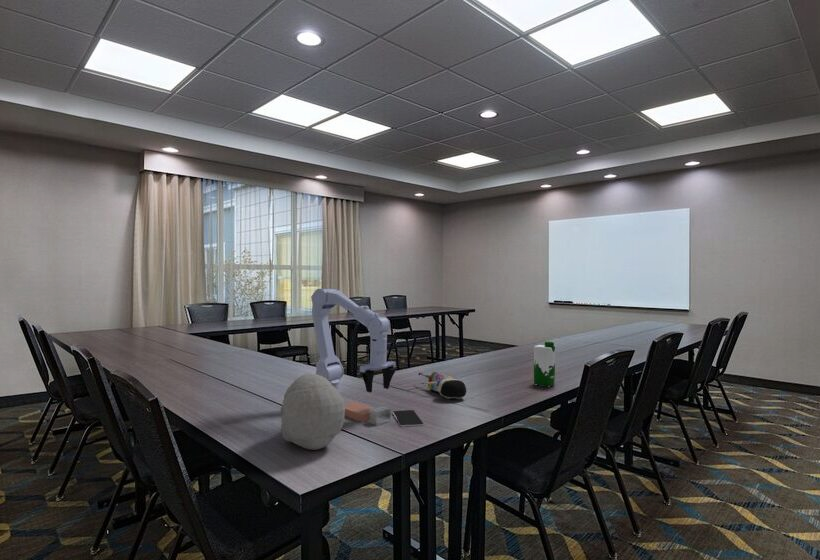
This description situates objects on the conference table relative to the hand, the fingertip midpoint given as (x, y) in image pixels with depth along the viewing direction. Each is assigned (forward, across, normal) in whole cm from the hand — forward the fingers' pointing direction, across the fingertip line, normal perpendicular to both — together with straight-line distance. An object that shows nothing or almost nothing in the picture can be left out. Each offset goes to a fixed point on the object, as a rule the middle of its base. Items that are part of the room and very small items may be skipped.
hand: (377, 390), depth 152 cm
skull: (+9, -30, -6) cm, 32 cm away
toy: (+9, +41, +7) cm, 43 cm away
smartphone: (+10, +6, -10) cm, 15 cm away
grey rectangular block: (+9, -4, -6) cm, 11 cm away
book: (+10, -5, +5) cm, 12 cm away
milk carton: (+9, +88, -14) cm, 89 cm away
